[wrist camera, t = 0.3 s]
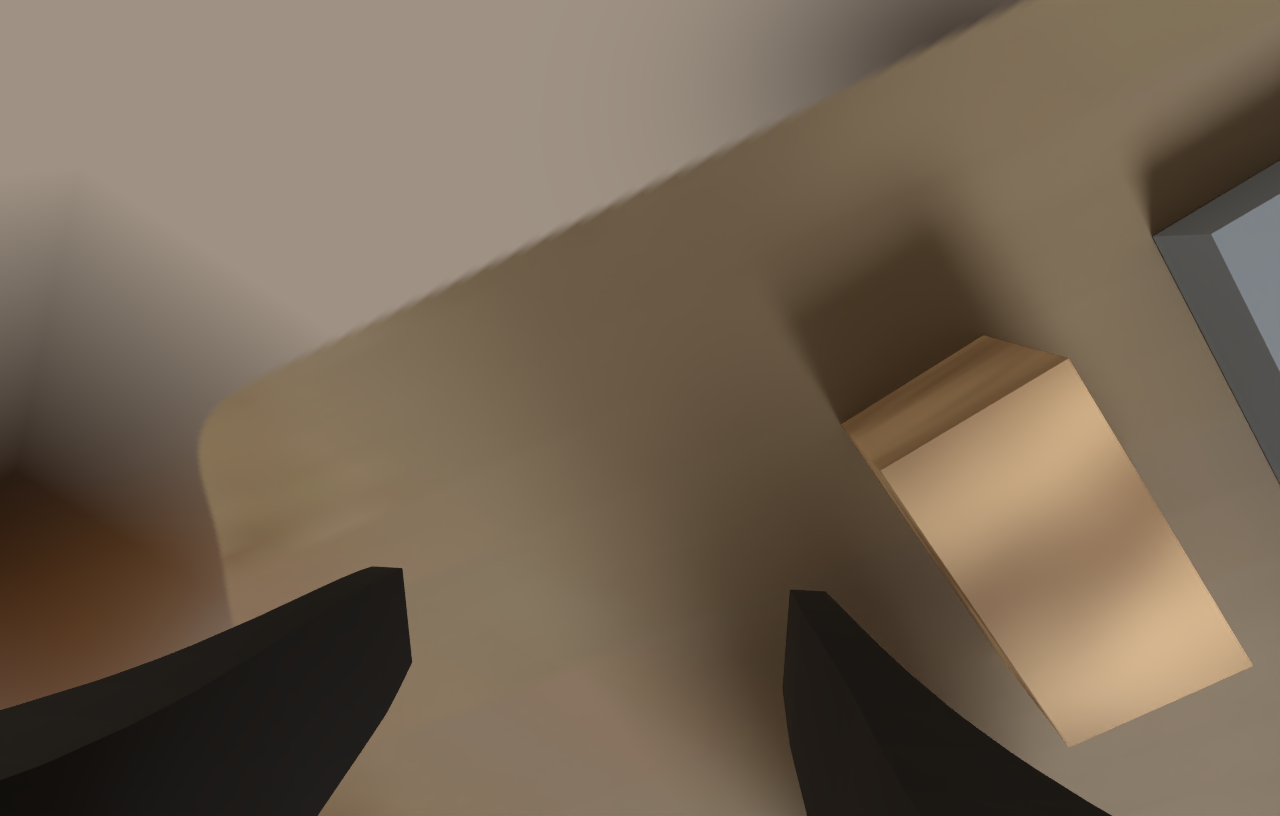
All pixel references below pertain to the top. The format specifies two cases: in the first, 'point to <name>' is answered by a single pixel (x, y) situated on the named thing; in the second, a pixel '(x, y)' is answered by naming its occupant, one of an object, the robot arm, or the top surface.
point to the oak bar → (1047, 535)
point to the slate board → (1237, 293)
